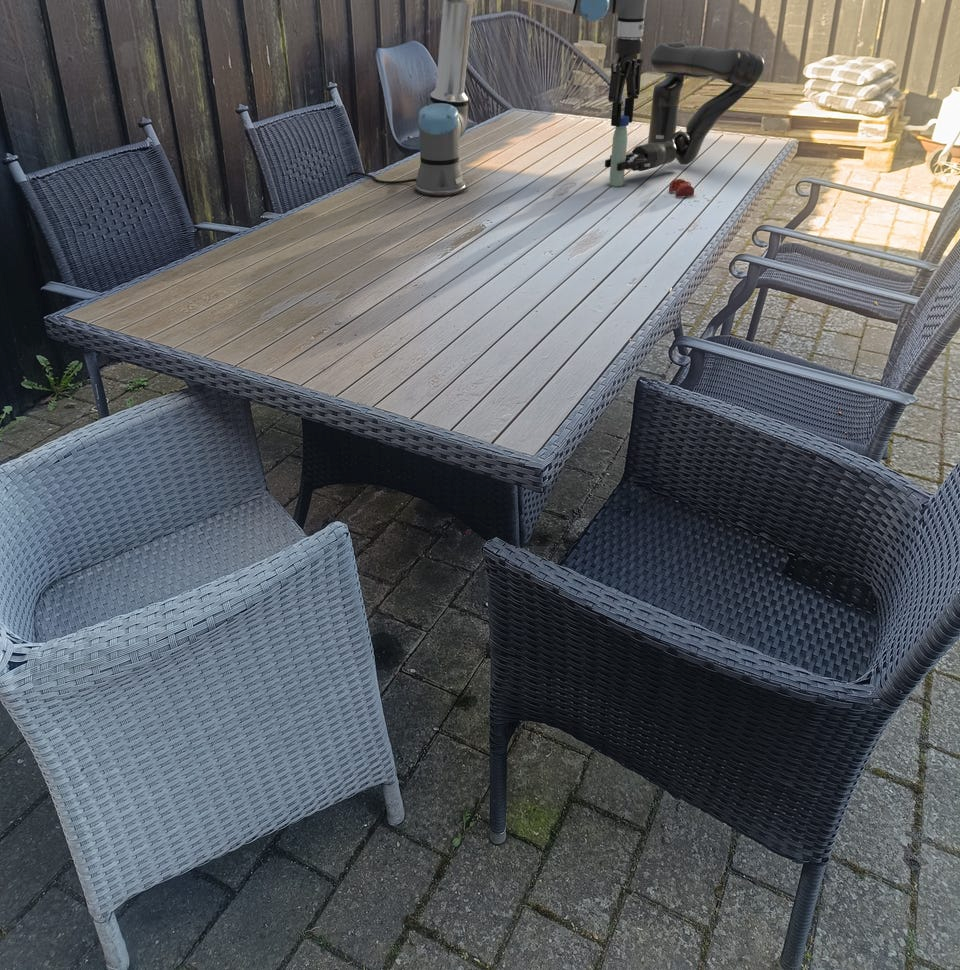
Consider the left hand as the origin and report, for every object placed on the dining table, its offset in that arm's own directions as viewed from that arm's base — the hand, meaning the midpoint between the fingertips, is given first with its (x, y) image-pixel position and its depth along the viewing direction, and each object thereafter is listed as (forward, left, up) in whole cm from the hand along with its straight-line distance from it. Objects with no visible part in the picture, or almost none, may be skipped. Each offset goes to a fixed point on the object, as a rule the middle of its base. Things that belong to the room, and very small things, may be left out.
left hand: (621, 123), depth 253 cm
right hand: (-1, -3, -12) cm, 12 cm away
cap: (0, 0, +2) cm, 2 cm away
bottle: (0, 0, -18) cm, 18 cm away
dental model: (+21, +4, -18) cm, 28 cm away
